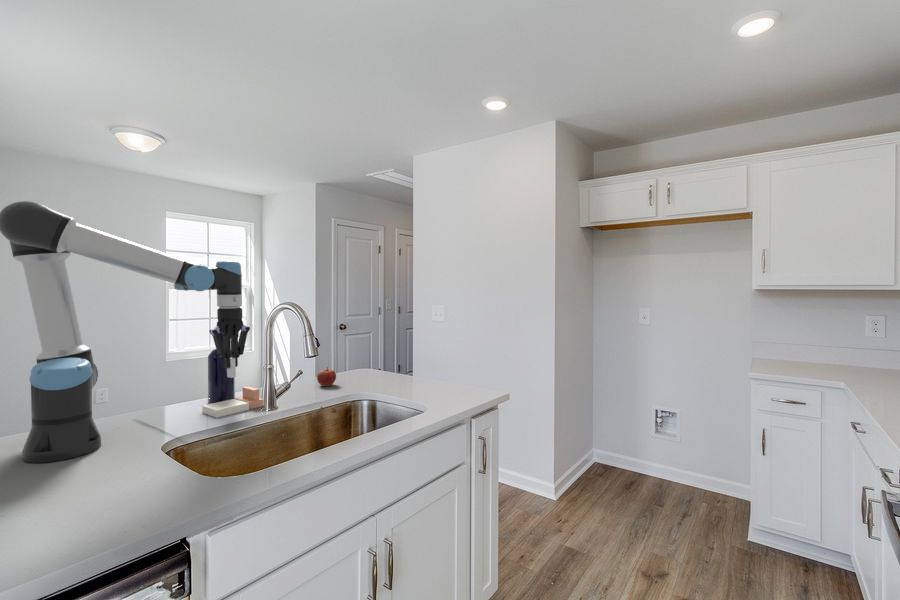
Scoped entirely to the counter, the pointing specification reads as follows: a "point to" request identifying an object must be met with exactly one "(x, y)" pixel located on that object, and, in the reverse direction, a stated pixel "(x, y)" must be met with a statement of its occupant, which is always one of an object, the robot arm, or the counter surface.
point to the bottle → (219, 379)
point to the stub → (251, 397)
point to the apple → (326, 377)
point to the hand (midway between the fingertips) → (231, 376)
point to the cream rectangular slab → (225, 407)
